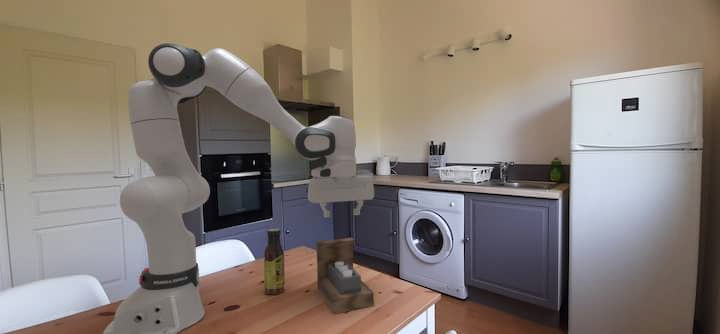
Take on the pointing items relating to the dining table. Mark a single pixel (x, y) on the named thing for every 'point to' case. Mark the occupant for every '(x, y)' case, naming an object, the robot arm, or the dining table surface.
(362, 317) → the dining table surface
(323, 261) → the walnut shelf
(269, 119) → the robot arm
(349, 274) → the grey egg holder
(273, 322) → the dining table surface
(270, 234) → the sauce bottle
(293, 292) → the dining table surface
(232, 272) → the dining table surface
